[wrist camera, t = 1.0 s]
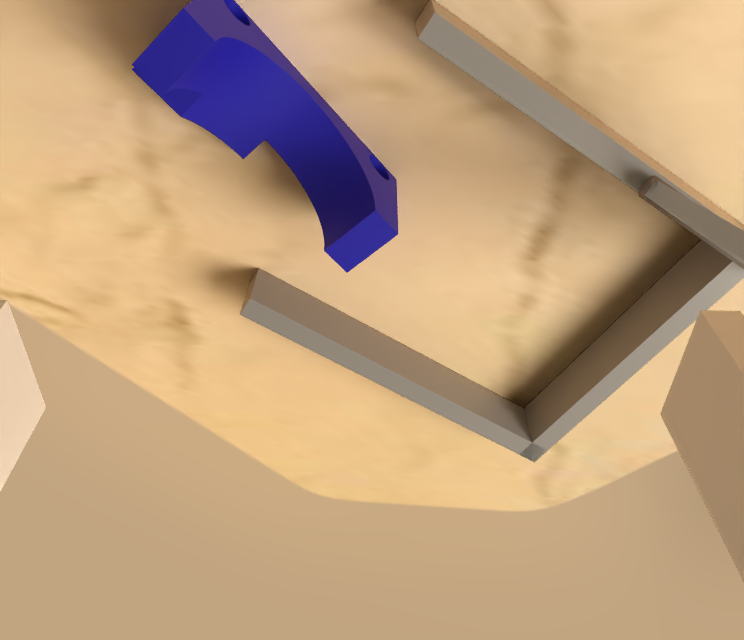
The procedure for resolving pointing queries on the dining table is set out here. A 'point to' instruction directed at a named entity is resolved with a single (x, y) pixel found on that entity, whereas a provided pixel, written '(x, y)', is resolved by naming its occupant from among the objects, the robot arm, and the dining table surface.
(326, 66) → the dining table surface
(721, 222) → the cover
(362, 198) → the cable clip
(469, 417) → the gray u-shaped frame
